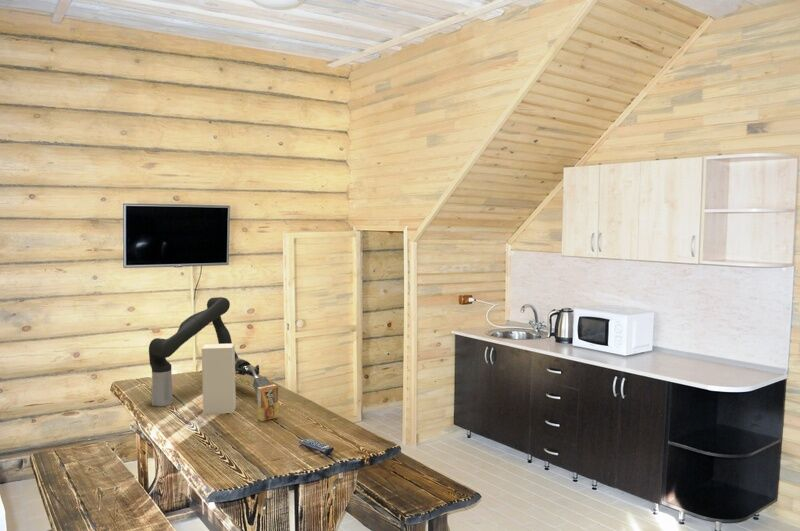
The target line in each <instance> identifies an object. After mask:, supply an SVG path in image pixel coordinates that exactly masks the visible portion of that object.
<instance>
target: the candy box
mask: <svg viewBox="0 0 800 531" xmlns="http://www.w3.org/2000/svg"><path fill="white" fill-rule="evenodd" d="M256 394H257V420H259V421H260V422H264V421H268V420H271V419H272V420H273V419H277V418H279V386H278V385H276V384H270V385H268V386H263V387H258V388H257V392H256Z"/></svg>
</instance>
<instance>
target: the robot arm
mask: <svg viewBox="0 0 800 531" xmlns="http://www.w3.org/2000/svg"><path fill="white" fill-rule="evenodd" d="M230 305H231V303H230V300H229V299H228V298H226V297H222V296H221V297H219V296H218V297H210V298H209V299H208V300H207V303H206V308H205V309H203V310H202V311H199V312H196V313H195V314H192V315H190V316H189V317H188V318H186V319H185V320H183V321H182V322H181V323H180V324H179V327H178V329H177V332H175V333H174V334H172V336H170V337H168V338H161V337H156V338H154V339H152V340H150V343H149V344H148V345H149V346H148V359H149V365H150V369H151V385H152V386H151V406H152V407H167V406H170V405H172V404H173V376H172V375H173V374H172V364H171V363H170V362H169V361H168V360H167V358H169V357H171V356H172V355H173V354H174V353H175V352H177V351H178V349H179V348H181V347H182V346H183V345H184V344H185V343H187V341H189V340H190V339H191V338H193V337H194V336H196V335H198V333H200V331H202V330H203V329H205V328H206V327H207V326H208V325H210V323H212V325H213V327H214V330H215V333H216V337H217V342H218V343H217V344H232V338H231V337H232V336H231V334H230V331H229V330H228V328H227V326H226V325H225V322H223V319H222V317H221V316H223V315H224V314H226V313H227V312H228V311H229V309H230ZM249 365H252V364H251V363H250V362H249V361H248V360H245V359H243V358H240V357H239V356H238V354H237V352H236V351H235V375H240V376H241V375H242V376H245V375H247V376H250V377H252V375H253V373H252V371H250V370H248V369H247V367H248V366H249ZM252 366H253V368H254V370H255V371H256V373H257V375H258V376H259V375H260V365H259V364H257V365H255V366H254V365H252Z"/></svg>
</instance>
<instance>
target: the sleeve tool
mask: <svg viewBox="0 0 800 531" xmlns="http://www.w3.org/2000/svg"><path fill="white" fill-rule="evenodd" d="M253 366H254V365H252V364H251V365H249V366H248V367H247V369H248V370H250V371H252V373H253V375H252V376H251V378H252V380H253V383H252V387H253V389H254V390H255V393H257V388H258V387H263V386H268V385H271V383H270V382H269V380H268V378H267V377H266V376H259V375H257V373H256V371H255V370H254V368H253Z"/></svg>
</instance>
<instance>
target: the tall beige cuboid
mask: <svg viewBox="0 0 800 531" xmlns="http://www.w3.org/2000/svg"><path fill="white" fill-rule="evenodd" d="M235 347H236V346H235V342H234V343H232V344H219V343H205V344H204V345H203V346H202V347H201V370H202V371H201V372H202V373H201V374H202V376H201V377H202V378H201V379H202V414H207V415H223V414H224V415H225V414H226V413H230V414H234V413H235V411H236V406H237V402H236V401H237V399H236V397H237V396H236V395H237V394H236V390H237V388H236V372H235V352H236V348H235Z"/></svg>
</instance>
